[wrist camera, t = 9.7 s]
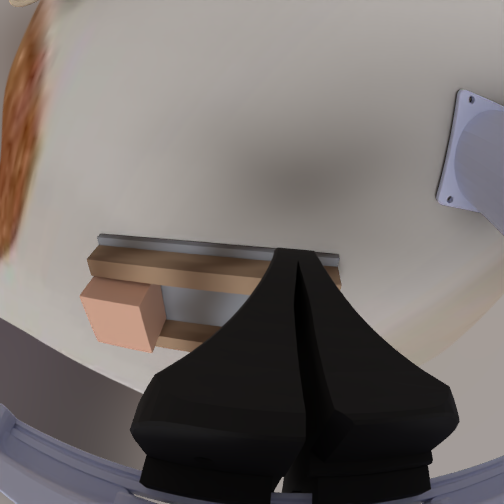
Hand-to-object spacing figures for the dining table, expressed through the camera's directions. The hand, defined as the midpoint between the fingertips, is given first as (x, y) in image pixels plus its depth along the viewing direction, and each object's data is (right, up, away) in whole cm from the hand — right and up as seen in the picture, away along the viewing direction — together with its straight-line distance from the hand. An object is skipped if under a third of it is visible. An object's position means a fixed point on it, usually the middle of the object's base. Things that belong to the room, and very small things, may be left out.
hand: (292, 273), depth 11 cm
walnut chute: (-5, -3, +14) cm, 15 cm away
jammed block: (-11, -2, +14) cm, 18 cm away
